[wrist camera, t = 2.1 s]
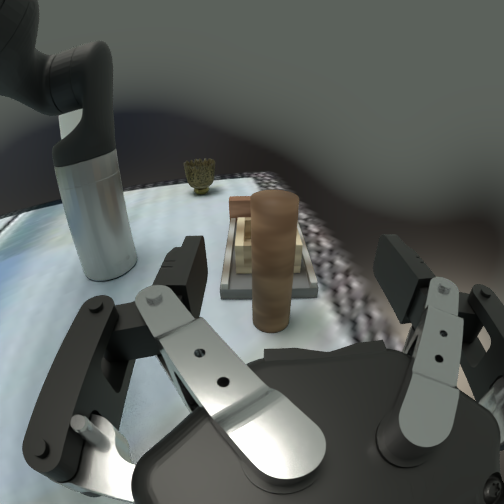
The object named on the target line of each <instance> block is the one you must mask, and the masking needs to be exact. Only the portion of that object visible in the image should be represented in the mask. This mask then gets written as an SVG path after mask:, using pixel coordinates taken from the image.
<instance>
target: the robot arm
mask: <svg viewBox="0 0 504 504" xmlns="http://www.w3.org/2000/svg"><path fill="white" fill-rule="evenodd" d="M38 24H39V5H38V1H37V0H0V95H2V96H6V97H10V98H12V99H15V100H17V101H19V102H21V103H23V104H25V105H27V106H28V107H31V108H32V109H34V110H36V111H38V112H40V113H42V114H45V115H49V116H56V115H61V114H65V113H68V112H72V111H75V110H78V109H82V108H83V110H82V118H81V120H80V122H79V123H78V125H77V126H76V127H75V128H74V129H73V131H71V132H70V133H69V134H68V135H67V136H66V137H64V138H63V139H62V140H60V141H59V142H58V143H57V144H55V146H54V147H53V150H52V156H53V162H54V166H55V172H56V177H57V182H58V186H59V190H60V195H61V199H62V203H63V207H64V210H65V214H66V218H67V221H68V225H69V228H70V231H71V235H72V238H73V241H74V244H75V247H76V250H77V253H78V256H79V259H80V262H81V265H82V267H83V270H84V273H85V275H86V276H87V277H88V278H89V279H91V280H95V281H105V280H110V279H113V278H116V277H119V276H121V275H123V274H124V273H126V272H128V271H129V270H130V269H131V268H132V267H133V266H134V265H135V263H136V261H137V254H136V250H135V246H134V242H133V238H132V233H131V228H130V224H129V219H128V215H127V210H126V205H125V200H124V195H123V189H122V184H121V179H120V172H119V166H118V159H117V152H116V145H115V132H114V115H113V64H112V56H111V52H110V49H109V47H108V46H107V44H106V43H105V42H103V41H93V42H89V43H86V44H82V45H80V46H76V47H73V48H70V49H68V50H65V51H62V52H60V53H57V54H54V55H46V54H43V53H41V52H40V51H38V50H37V49H36V48H35V44H36V37H37V31H38ZM373 271H374V275H375V277H376V279H377V281H378V283H379V285H380V286H381V288H382V290H383V292H384V293H385V295H386V297H387V299H388V301H389V303H390V304H391V306H392V308H393V310H394V312H395V313H396V316H397V318H398V320H399V322H400V324H406V323H412V326H411V328H410V330H409V333H408V336H407V339H406V342H405V345H404V348H403V351H402V352H400V351H397V350H393V349H386V347H385V344H384V342H383V340H379V341H371V342H362V343H355V344H353V345H350V346H347V347H344V348H341V349H338V350H335V351H331V352H322V351H314V350H307V349H300V348H282V349H264V358H262V359H258V360H255V361H252V362H250V363H248V364H245V363H244V362H243V361H242V360H241V359H240V358H239V357H238V356H237V355H236V353H235V352H234V351H233V350H232V349H231V348H230V347H229V346H228V345H227V344H226V343H225V342H224V341H223V339H222V338H221V337H220V336H219V335H218V334H217V333H216V332H215V331H214V329H213V328H212V327H211V326H210V325H209V324H208V323H207V321H206V320H205V319H204V318H202V317H199V316H200V311H201V306H202V301H203V297H204V292H205V287H206V283H207V277H208V267H207V259H206V250H205V242H204V237H203V236H186V237H185V239H184V242H183V244H182V246H181V247H175V248H173V249H172V250H171V251H170V252H169V253H167V255H166V257H165V259H164V262H163V263H162V265H161V268H160V270H159V272H158V274H157V276H156V278H155V280H154V282H153V285H152V286H149V287H147V288H145V289H143V290H142V291H140V292H139V293H138V294H137V296H136V298H135V301H134V302H131V303H126V304H121V305H115V304H114V301H113V299H112V298H111V297H109V296H105V295H100V296H95V297H93V298H90V299H89V300H87V301H86V302H85V303H84V304H83V305H82V306H81V308H80V310H79V312H78V314H77V315H76V317H75V319H74V321H73V323H72V325H71V327H70V329H69V331H68V333H67V334H66V336H65V338H64V340H63V342H62V345H61V347H60V349H59V351H58V353H57V355H56V357H55V359H54V361H53V364H52V366H51V368H50V370H49V373H48V375H47V377H46V380H45V382H44V384H43V387H42V389H41V392H40V394H39V397H38V399H37V402H36V405H35V407H34V410H33V413H32V416H31V419H30V422H29V425H28V428H27V431H26V434H25V437H24V440H23V446H22V450H23V455H24V458H25V460H26V462H27V463H28V465H29V466H30V467H31V468H33V469H34V470H36V471H37V472H39V473H41V474H43V475H45V476H47V477H48V478H49V479H50V480H52V481H54V482H56V483H58V484H60V485H62V486H64V487H66V488H68V489H70V490H73V491H75V492H80V493H82V494H84V495H87V496H90V497H99V496H105V497H109V498H113V499H117V500H120V501H125V502H129V503H133V504H504V483H503V481H502V478H501V474H500V460H499V459H500V451H502V450H504V305H503V304H502V303H501V301H500V300H499V299H498V297H497V296H496V295H495V293H494V292H493V291H492V290H491V289H490V288H488V287H486V286H484V285H481V284H476V285H474V286H473V288H472V290H471V292H470V294H467V293H461V292H459V290H458V288H457V286H456V285H455V284H454V283H453V282H451V281H450V280H448V279H446V278H442V277H435V275H434V274H433V273H432V271H431V270H430V269H429V268H428V266H427V265H426V264H425V263H424V262H423V260H422V259H421V258H419V255H418V254H417V253H416V252H415V251H414V250H413V249H411V248H410V247H408V246H407V245H405V243H404V242H403V241H402V240H401V239H400V238H399V237H398V236H397V235H381V237H380V239H379V242H378V247H377V252H376V256H375V261H374V266H373ZM483 326H484V327H485V328H486V330H487V332H488V334H489V335H490V338H491V346H490V348H489V350H488V351H487V352H486V351H485V350H484V348H483V346H482V344H481V342H480V340H479V339H478V337H477V336H478V334H479V332H480V331H481V329H482V327H483ZM154 355H156V357H157V359H158V361H159V362H160V364H161V366H162V367H163V369H164V371H165V372H166V374H167V376H168V377H169V379H170V380H171V382H172V384H173V385H174V387H175V388H176V390H177V392H178V394H179V395H180V397H181V399H182V401H183V402H184V404H185V406H186V407H187V409H188V410H189V412H190V414H189V415H188V416H187V417H186V418H185V419H184V420H183V421H182V422H181V423H180V424H178V425H177V426H176V427H175V428H174V429H173V430H172V431H171V432H170V433H168V434H167V435H166V436H165V437H164V438H163V439H162V440H160V441H159V442H158V443H157V444H156V445H155V446H153V447H152V448H151V449H150V450H149V451H147V452H146V453H145V454H144V455H143V456H142V457H141V458H140V460H139V461H138V462H137V464H136V466H135V465H133V463H132V462H131V459H130V455H129V444H128V441H127V440H126V438H125V437H124V436H123V435H122V434H121V433H120V432H119V427H120V422H121V417H122V412H123V408H124V404H125V399H126V395H127V391H128V387H129V383H130V379H131V375H132V371H133V367H134V363H135V360H136V359H138V358H144V357H149V356H154ZM460 364H461V367H462V369H463V371H464V373H465V376H466V378H467V380H468V383H469V385H470V387H471V390H472V392H473V395H474V397H475V400H476V401H475V400H473V399H472V398H471V397H469V396H468V395H466V394H465V393H463V392H462V391H460V390H459V389H458V388H457V379H458V372H459V365H460Z"/></svg>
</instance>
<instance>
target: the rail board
mask: <svg viewBox="0 0 504 504" xmlns="http://www.w3.org/2000/svg"><path fill="white" fill-rule="evenodd" d="M250 197H251V196H234V197H230V198H229V213H230V226H229V232H228V238H227V245H226V251H225V258H224V264H223V271H222V278H221V285H220V296H221V299H252V273H251V274H236V260H235V239H236V229H237V220H238V217H251V200H250ZM297 228H298V232H299V235H300V238H301V241H302V244H303V248H302V258H301V268H300V273H294V274H293V285H292V296H291V298H313V297H317V293H318V285H317V283H318V282H317V279H316V276H315V273H314V269H313V266H312V263H311V260H310V257H309V254H308V251H307V247H306V244H305V241H304V238H303V235H302V232H301V229H300V226H299V223H298V221H297Z"/></svg>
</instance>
